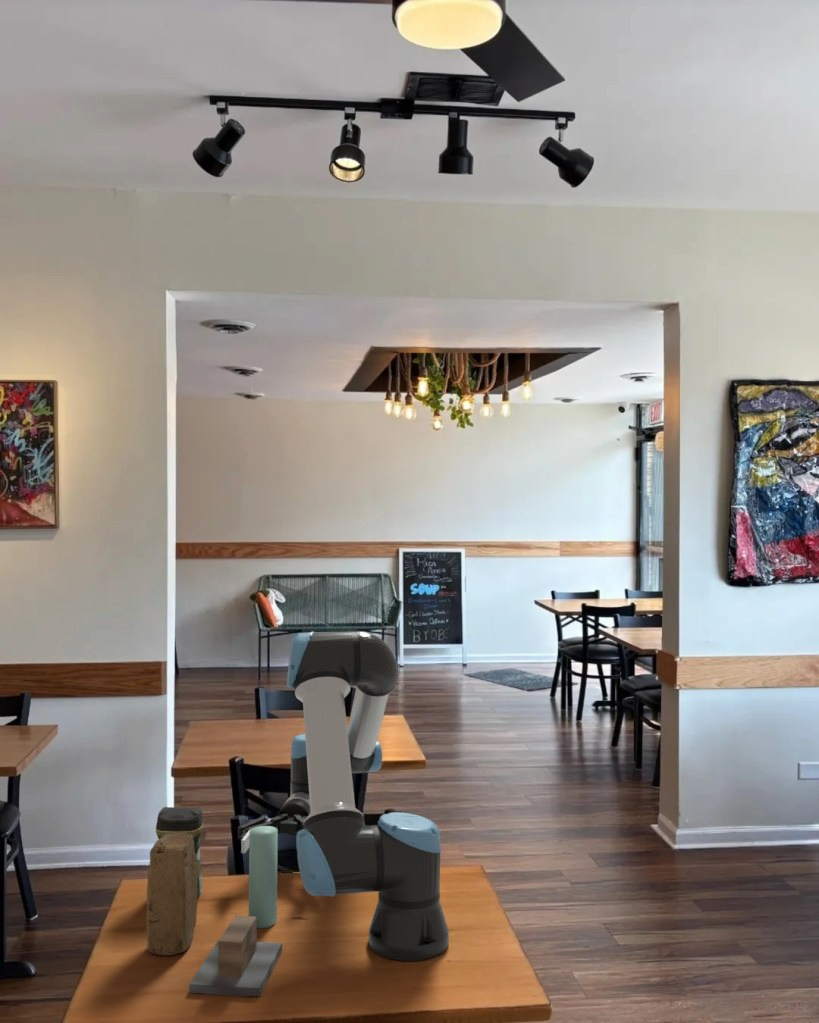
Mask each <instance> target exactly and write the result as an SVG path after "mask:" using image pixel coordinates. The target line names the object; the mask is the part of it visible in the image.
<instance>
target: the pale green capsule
mask: <svg viewBox="0 0 819 1023" xmlns="http://www.w3.org/2000/svg"><path fill="white" fill-rule="evenodd" d="M278 835H279V834H278V830H277V828H275V827H272V826H259V827H255V828H252V829H251V830H250V831H249V848H248V852H249V853H248V854H249V855H248V860H249V861H248V916H255V917H257V929H266V928H271V927H273V926H274V924H275V923H277V922H278V915H277V914H278V913H277V912H278V908H277V907H278ZM272 925H273V926H272ZM275 925H276V924H275ZM270 926H271V927H270Z"/></svg>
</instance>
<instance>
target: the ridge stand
mask: <svg viewBox="0 0 819 1023" xmlns="http://www.w3.org/2000/svg"><path fill="white" fill-rule="evenodd" d="M257 931H258V928H257V917H255V916H249V915H234V917H233V919H232V920H231V921H230V923H229V924H228V926H227V928H225V930H224V932H223V934H222V935H221V937H220V938H219V939H218V940H217V942H216V943H215V944H214V946H213V948H212V949H211V951H210V952H209V954H207V957H206V958H205V960H204V961H203V963H202V964H201V966H200V967H199V969H198V970H197V971H196V974H195V975H194V977H193V978H192V979H191V981H190V982H189V985H188V986H189V989H188V990H189V991H188V993H189V994H196V993H202V994H201V995H212V994H213V995H214V994H215V995H216V996H229V995H231V996H232V995H233V997H245V996H255V997H254V998H260V997H261V996H262V992H263V991H264V989H265V987H266V985H267V982H268V981H267V980H269V979H268V978H270V977H271V975H272V973H271V972H273V971H272V970H274V969H275V967H276V965H277V962H278V960H279V959H280V956H281V954H282V952H283V943H282V942H267V941H265V942H264V941H258V940H257V936H258V934H257ZM270 974H271V975H270ZM269 976H270V977H269ZM203 993H204V994H203ZM256 996H257V997H256ZM259 996H260V997H259Z"/></svg>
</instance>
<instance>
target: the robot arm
mask: <svg viewBox="0 0 819 1023" xmlns="http://www.w3.org/2000/svg"><path fill="white" fill-rule="evenodd" d="M288 658H289V659H288V666H287V676H286V677H287V678H286V682H287V683H286V686H287V688H289V689H293V690H294V695H295V698H296V699H297V700H299V701H300V702H301V703H302V706H303V708H302V709H303V722H304V733H303V734H302V733H301V734H298V735H296V736H294V737H293V739H292V740H291V752H290V795H289V797H288V798H287V800H286V801H285V802H284V804H283V805H282V806H281V808H280V810H279V811H278V813H277V816H274V817H273V818H269V815H268V814H262V815H261V816H260V817H258V818H256V819H253V820H251V821H249V822H247V823H244V824H243V825H240V826H238V827H237V839H238V840H240V844H241V846H240V847H241V848H240V849H241V850H240V854H245V853H246V852H247V851H249V831H250V830H251V829H252V828H255V827H259V826H272V827H275V828H277V830H278V835H280V834H283V835H284V834H287V835H289V836H295V838H296V840H295V843H296V845H295V846H296V852H297V853H296V855H297V856H296V857H297V864H298V869H299V876H300V878H301V881H302V882H301V883H302V884H303V887H304V889H305V891H306V893H307V894H309V895H310V896H314V897H332V898H333V897H335V896H339V895H340V896H342V895H352V894H353V895H354V894H364V893H365V894H366V893H374V892H378V894H377V895H378V896H377V897H378V898H377V904H376V906H375V909H374V913H373V916H372V918H371V922H370V926H369V929H368V945H369V947H370V949H371V950H372V951H373V952H375V953H376V954H377V955H378V956H379V955H380V956H381V957H384V958H387V959H389V960H394V961H395V960H396V961H404V962H416V961H424V960H428V959H431V958H434V957H437V956H439V955H441V954H443V953H444V951H446V949H447V948H448V947H449V943H450V941H449V938H450V935H449V934H450V933H449V927H448V923H447V920H446V917H445V914H444V910H443V907H442V905H441V900H440V898H441V897H440V896H441V852H442V847H441V834H440V833H441V832H440V829H439V827H438V825H437V824H436V823H435V822H434V821H432V820H431V819H430V818H426V817H424V816H421V815H418V814H413V813H409V812H408V813H407V812H387V813H384V814H382V815H380V817H379V820H378V821H377V824H374V825H366V824H365V817H364V816H365V815H364V814H363V812H361V811H360V810H359V809H357V808H356V803H355V792H354V783H353V775H352V774H367V773H373V772H378V771H380V769H381V768H382V765H383V750H382V745H381V743H380V741H379V740H378V738H379V735H380V731H381V726H382V724H383V723H382V722H383V718H384V714H385V711H386V708H387V703H388V699H389V695H390V694H391V693H392V692H393V691H394V690H395V688H396V685H397V683H398V678H399V677H398V676H399V666H398V662H397V658H396V657H395V654H394V653H393V651H392V649H391V648H390V646H389V645H388V644H387V643H386V642H385V641H384V640H383V639H382V638H380V637H379V636H377V635H375V634H373V633H371V632H368V631H363V630H355V631H325V632H324V631H319V632H317V631H316V632H315V631H310V632H298V633H297V634H294V635H293V637H292V638H291V643H290V650H289V657H288ZM352 686H355V687H356V688H355V692H354V695H353V697H354V698H353V701H352V707H351V712H350V716H349V721H347V713H346V705H345V704H346V703H345V698H346V697H347V696H348V695H349V694H350V692H351V687H352ZM347 722H348V723H347Z"/></svg>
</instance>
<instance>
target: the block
mask: <svg viewBox="0 0 819 1023" xmlns="http://www.w3.org/2000/svg"><path fill="white" fill-rule="evenodd" d="M197 911H198V897H197V863H196V855H195V850H194V839H193V836H192V835H191V834H185V833H174V834H165V835H163V836H162V837H161V838H160V839H157V840H156V842H154V844H153V846H152V848H151V849H150V852H149V867H148V870H147V888H146V939H147V940H146V941H147V949H148V951H149V953H152V954H156V955H159V956H174V955H178V954H181V953H184V952H185V951H186V950H188V949H189V948H190V946H191V944H192V942H193V940H194V934H195V928H196V924H197V914H198V912H197Z"/></svg>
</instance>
